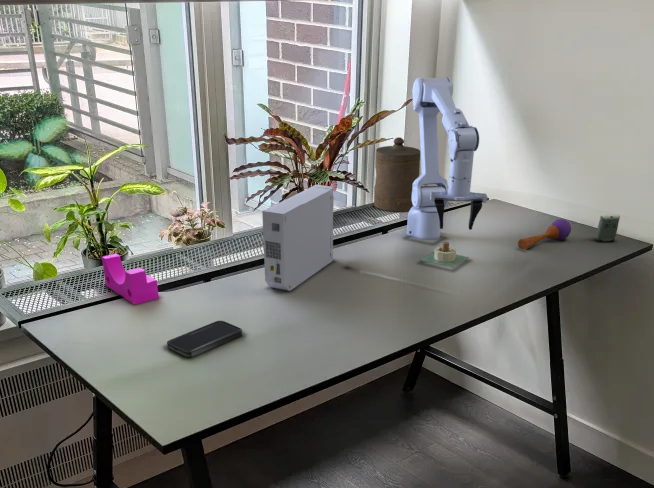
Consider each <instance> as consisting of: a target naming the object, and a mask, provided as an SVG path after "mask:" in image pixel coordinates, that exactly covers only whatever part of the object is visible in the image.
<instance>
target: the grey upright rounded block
mask: <svg viewBox="0 0 654 488" xmlns="http://www.w3.org/2000/svg"><path fill="white" fill-rule="evenodd" d="M620 218H621V215H620V214H616V213H615V214H611V213H610V214H601V215H600V216H599V221H598V225H597V231H596V232H597V233H596V242H597V243H608V242H609V243H610V242H615V240H616V237H617V233H618V228H619V223H620Z"/></svg>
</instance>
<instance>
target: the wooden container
mask: <svg viewBox="0 0 654 488" xmlns="http://www.w3.org/2000/svg"><path fill="white" fill-rule="evenodd" d="M404 144H405V140H404V139H403V138H402V137H399V136H398V137H395V138H394V139H393V145H386V146H380V147H378V148H376V149H375V168H374V169H375V170H374V189H373V206H374V207H375V208H377V209H379V210H383V211H388V212H407V211H408V212H409V211H410V209H411V208H412V207H413V204H412V188H413V182H414V181H415V180H416V179H417V178H418V177H419V176H420V175H421V173H420V172H421V171H420V170H421V149H419V148H416V147H413V146H407V145H406V146H405V145H404Z"/></svg>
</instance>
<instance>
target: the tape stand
mask: <svg viewBox="0 0 654 488" xmlns="http://www.w3.org/2000/svg"><path fill="white" fill-rule="evenodd" d="M441 246H442V252H449V247H450V242H449V241H443V242H442V245H441ZM434 254H435V250H434V251H433V252H431V253H429V254H428V255H426V256H425V257H422V258H421V259H420V261H422V262H426V263H430V264H434V265H439V266H443V267H448V268H453V269H454V268H455V267H457V266H458V265H460V264H461V263H463V262H465V261H466V260H468V259H469V258H470V257H469V256H467V255H461V254H457V253H456V257H455V260H454V261H452V262H441V261H437V260H435V259H434Z"/></svg>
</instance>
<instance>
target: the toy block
mask: <svg viewBox="0 0 654 488" xmlns="http://www.w3.org/2000/svg"><path fill="white" fill-rule="evenodd" d="M101 261H102V267H103V275H104V281H105V286H106V287H107V288H109V289H110V290H112V291H113V292H115V293H116V294H117V295H119V296H121V297H123V298H124V299H125V300H127V301H128V302H130V303H131V304H132V305H138V304H139V305H140V304H142V303H146V302H150V301H153V300H157V299H159V298H160V296H159V286H158V280H157V279H155V278H153V277H152V276H150V275H147V271H146V270H145V269H144V268H142V267H136V268H132V269H127V270H126V269H125V267H124V266H123V263H122V259H121V256H120V255H119V254H118V253H112V254H108V255H103V256H101Z"/></svg>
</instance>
